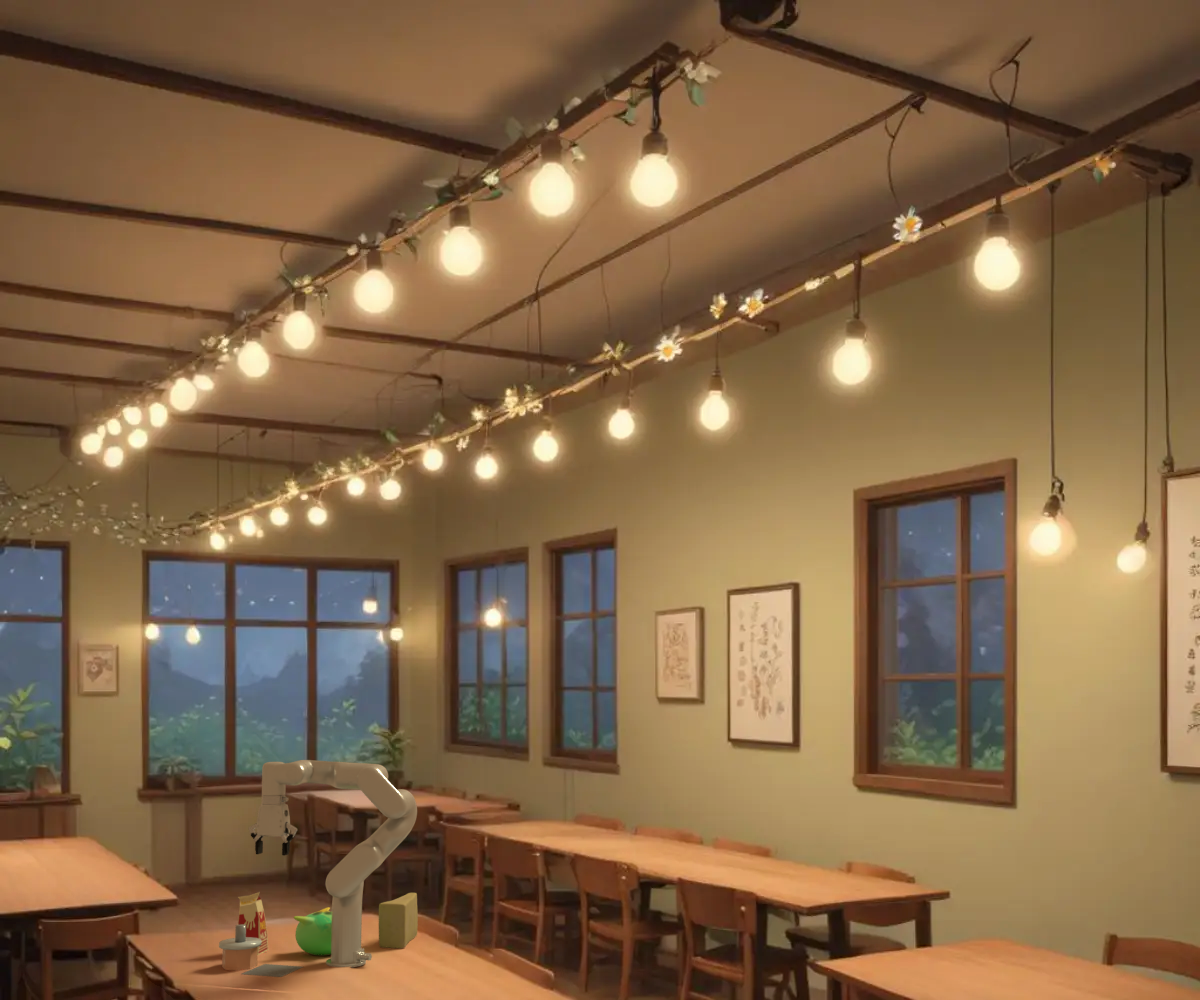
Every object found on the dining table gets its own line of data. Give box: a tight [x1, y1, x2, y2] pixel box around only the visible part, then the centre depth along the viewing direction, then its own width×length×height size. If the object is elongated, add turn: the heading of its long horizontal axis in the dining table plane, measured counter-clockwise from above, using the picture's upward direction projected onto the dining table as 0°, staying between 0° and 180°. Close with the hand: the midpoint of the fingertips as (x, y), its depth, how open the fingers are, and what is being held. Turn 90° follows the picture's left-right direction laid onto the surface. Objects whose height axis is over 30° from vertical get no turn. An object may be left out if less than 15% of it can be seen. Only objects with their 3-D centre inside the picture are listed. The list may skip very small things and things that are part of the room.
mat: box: [241, 963, 303, 978], centre depth 411 cm, size 14×14×1 cm
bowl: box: [221, 947, 258, 971], centre depth 417 cm, size 10×10×7 cm
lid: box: [218, 924, 262, 950], centre depth 417 cm, size 13×13×6 cm
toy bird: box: [293, 906, 332, 956], centre depth 435 cm, size 18×17×15 cm
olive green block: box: [378, 892, 419, 949], centre depth 455 cm, size 22×10×15 cm, turn 166°
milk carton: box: [237, 891, 269, 956], centre depth 438 cm, size 9×9×20 cm
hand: (272, 854), depth 426 cm, fingers open, 9 cm apart
